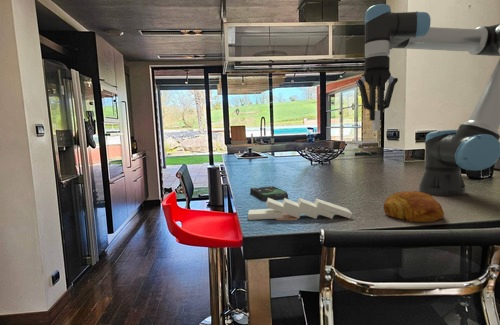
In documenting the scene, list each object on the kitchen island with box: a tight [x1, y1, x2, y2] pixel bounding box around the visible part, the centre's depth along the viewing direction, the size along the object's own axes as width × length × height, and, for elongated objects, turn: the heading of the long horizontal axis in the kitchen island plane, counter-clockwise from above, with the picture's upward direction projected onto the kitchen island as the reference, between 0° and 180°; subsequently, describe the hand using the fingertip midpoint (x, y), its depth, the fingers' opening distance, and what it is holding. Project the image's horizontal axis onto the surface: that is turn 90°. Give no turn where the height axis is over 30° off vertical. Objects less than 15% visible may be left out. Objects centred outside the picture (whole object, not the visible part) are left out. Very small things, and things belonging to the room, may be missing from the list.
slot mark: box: [275, 213, 299, 221], centre depth 91 cm, size 6×7×1 cm
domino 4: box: [297, 197, 335, 220], centre depth 91 cm, size 2×5×10 cm
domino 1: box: [247, 208, 283, 221], centre depth 92 cm, size 5×2×10 cm
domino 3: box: [282, 198, 319, 220], centre depth 91 cm, size 2×5×10 cm
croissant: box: [383, 190, 445, 223], centre depth 89 cm, size 14×16×8 cm
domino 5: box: [313, 198, 353, 219], centre depth 90 cm, size 2×5×10 cm
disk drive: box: [249, 185, 289, 202], centre depth 121 cm, size 10×3×15 cm
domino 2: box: [265, 198, 302, 219], centre depth 91 cm, size 2×5×10 cm
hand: (376, 130), depth 103 cm, fingers closed
